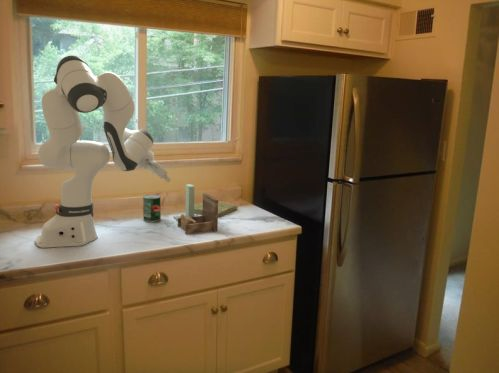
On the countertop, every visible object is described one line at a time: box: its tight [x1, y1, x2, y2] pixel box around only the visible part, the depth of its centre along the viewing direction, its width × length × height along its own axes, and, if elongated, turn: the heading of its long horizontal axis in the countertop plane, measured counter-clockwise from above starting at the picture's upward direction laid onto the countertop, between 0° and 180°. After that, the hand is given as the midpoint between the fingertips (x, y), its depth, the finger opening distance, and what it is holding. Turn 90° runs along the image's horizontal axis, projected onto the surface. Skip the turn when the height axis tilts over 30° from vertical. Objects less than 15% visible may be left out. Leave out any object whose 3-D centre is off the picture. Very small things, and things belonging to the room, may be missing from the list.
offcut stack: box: [180, 214, 196, 231], centre depth 189 cm, size 4×8×6 cm, turn 27°
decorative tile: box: [194, 200, 238, 218], centre depth 222 cm, size 19×20×4 cm
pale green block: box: [184, 183, 195, 217], centre depth 202 cm, size 3×5×16 cm, turn 27°
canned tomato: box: [142, 194, 162, 222], centre depth 202 cm, size 8×8×11 cm
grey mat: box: [173, 214, 200, 222], centre depth 204 cm, size 12×12×1 cm
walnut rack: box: [177, 192, 219, 235], centre depth 190 cm, size 14×14×14 cm
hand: (166, 179), depth 195 cm, fingers open, 8 cm apart
